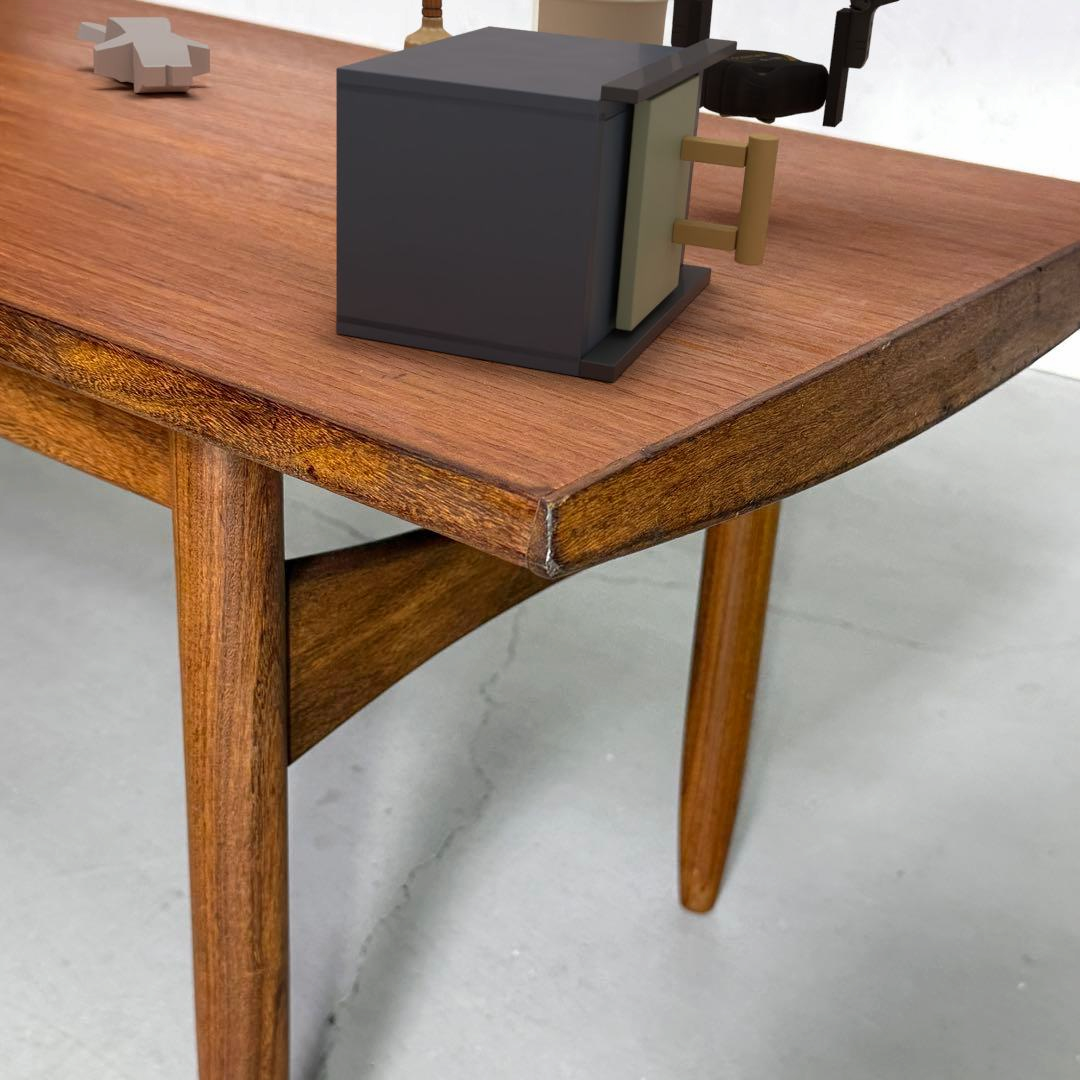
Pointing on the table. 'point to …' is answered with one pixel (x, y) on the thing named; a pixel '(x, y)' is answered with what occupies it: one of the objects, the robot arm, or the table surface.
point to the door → (683, 199)
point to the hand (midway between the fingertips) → (761, 115)
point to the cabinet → (500, 196)
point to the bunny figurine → (145, 53)
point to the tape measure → (763, 86)
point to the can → (605, 19)
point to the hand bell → (428, 25)
